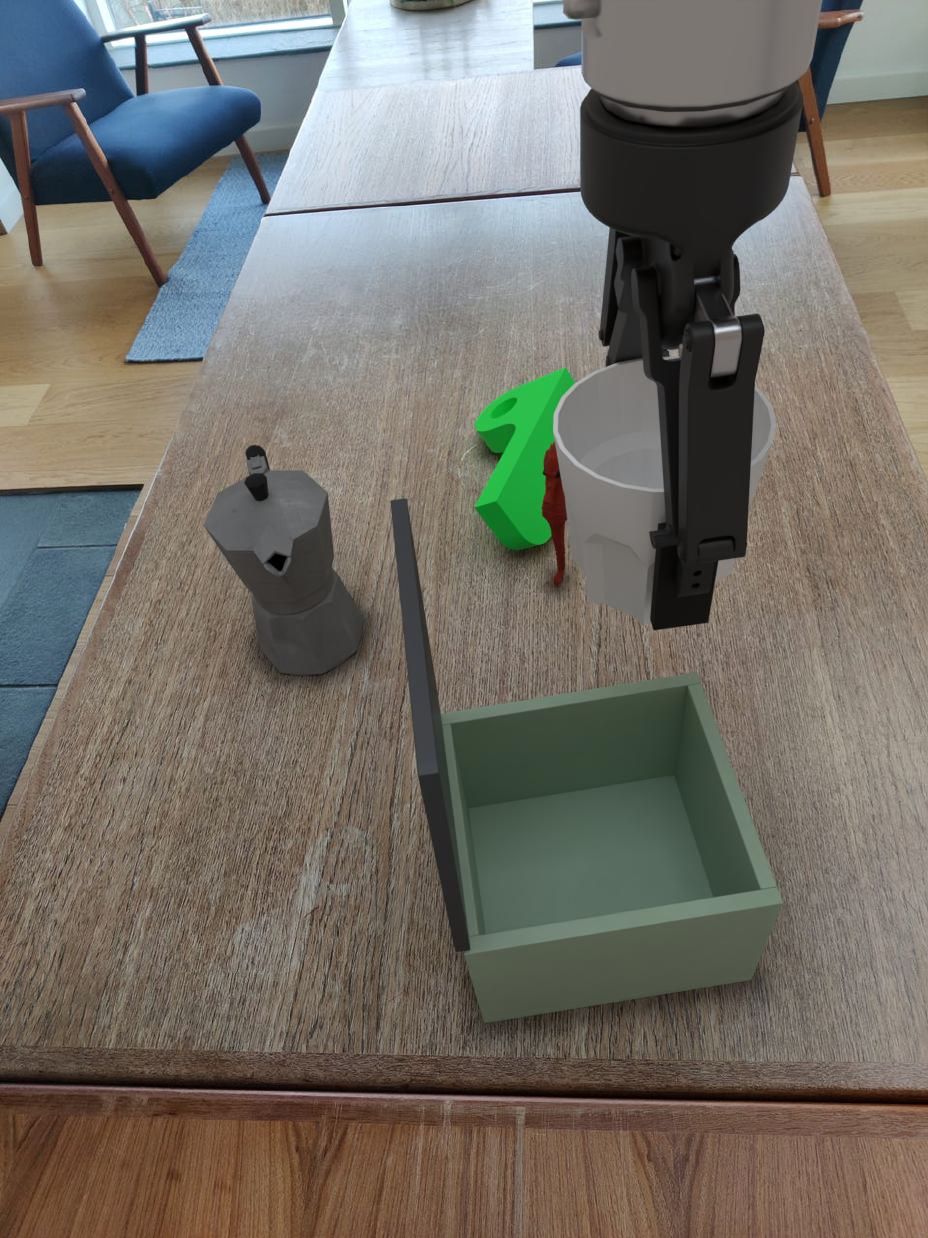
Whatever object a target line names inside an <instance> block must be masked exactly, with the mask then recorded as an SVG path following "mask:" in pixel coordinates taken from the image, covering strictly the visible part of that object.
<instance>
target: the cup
mask: <svg viewBox="0 0 928 1238" xmlns="http://www.w3.org/2000/svg"><path fill="white" fill-rule="evenodd" d="M675 358H678V357H676V356H670V357H663V359H665V360H668V359H675ZM774 411H775V410H774V407H773V405H772V404H771V402H770V401H769V400H768V398H767V397H766V395H765V394H764V392H762V389H760V388H758V387H757V386H756V385H755V392H754V411H753V431H752V451H751V470H750V490H749V509H748V516H749V514H750V510H751V507H752V504H753V502H754V499H755V496H756V493H757V490H758V487H759V484H760V481H761V478H762V475H763V472H764V469H765V466H766V463H767V461H768V458H769V455H770V452H771V448H772V447H773V443H774V438H775V433H776V430H777V421H776V416H775V412H774ZM553 434H554V439H555V445H556V451H557V457H558V463H559V469H560V475H561V481H562V487H563V491H564V495H565V503H566V512H567V520H566V522H567V528H568V537H569V546H570V555H571V561H572V562H573V563H574V564H575V565H576V566H577V567H579V568H580V569H581V570H582V572H583V575H584V578H585V586H586V587H585V589H586V599H587V600H586V601H587V604H589V605H591V604H593V605H604V606H608V607H609V608H612V609H614V610H617V611H620V612H621V613H625V614H627V615H629V616H631V617H633V618H634V619H635V620H636V622H638V623H639V624H640V625H641V627H643V628H644V627H645V626H647V625H649V624H650V623H651V621H650V613H651V601H652V589H653V577H654V565H655V553H656V549H654V548H653V547H652V544H651V540H650V534H649V531H656V530H658V523H665V522H666V514H665V499H664V484H663V469H662V454H661V438H660V423H659V408H658V393H657V385H656V383H655V382H654V381H652V380H650V379H648V378H647V377H646V375H645V373H644V369H643V358H640V359H634V360H629V361H624V362H618V363H615V364H612V365H610V366H607V367H606V366H605V367H602V368H599V369H596V370H594V371H593V372H591V373H589V374H587V375H585V376H584V377H583V378H581V379H579V380H578V381H575V384H574V385H573V386H572V387H571V388H570V389H569V390H568V391H567V392H566V393H565V394H564V395H563V396H562V397H561V399H560V402H559V404H558V406H557V408H556V410H555V412H554V421H553ZM736 559H737V558H734V559H727V560H720V561H718V567H717V573H716V579H715V585H714V588H715V587H716V586H717V584H718V583H719V582H720V581H721V580H723V579H725V578H726V577H729V576H731V575H732V573H733V570H734V566H735V562H736Z"/></svg>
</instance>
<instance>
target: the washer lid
mask: <svg viewBox="0 0 928 1238" xmlns="http://www.w3.org/2000/svg"><path fill="white" fill-rule="evenodd" d="M389 503H390V513H391V521H392V522H391V523H392V532H393V533H392V534H393V543H394V551H395V561H396V572H397V583H398V592H399V600H400V601H399V602H400V611H401V620H402V621H401V622H402V631H403V642H404V652H405V661H406V672H407V683H408V692H409V701H410V702H409V703H410V713H411V722H412V731H413V732H412V733H413V742H414V750H415V751H414V753H415V763H416V770H417V771H416V773H417V779H418V783H419V788H420V793H421V798H422V802H423V807H424V811H425V817H426V820H427V825H428V829H429V835H430V841H431V845H432V849H433V854H434V859H435V863H436V867H437V872H438V877H439V882H440V887H441V891H442V896H443V900H444V905H445V910H446V914H447V919H448V924H449V929H450V933H451V938H452V942H453V943H452V944H453V948H454V952H455V953H460V952H464V951H468V950H470V949H471V948H470V941H469V933H468V925H467V917H466V909H465V901H464V893H463V885H462V877H461V870H460V862H459V854H458V846H457V838H456V830H455V822H454V814H453V806H452V799H451V791H450V783H449V775H448V767H447V759H446V751H445V743H444V735H443V727H442V720H441V706H440V699H439V693H438V687H437V686H438V685H437V680H436V673H435V668H434V661H433V656H432V655H433V654H432V649H431V642H430V636H429V630H428V622H427V616H426V611H425V605H424V598H423V592H422V585H421V579H420V573H419V566H418V560H417V554H416V548H415V547H416V546H415V542H414V535H413V529H412V523H411V517H410V511H409V504H408V503H409V502H408V498H405V497H403V498H398V499H397V498H396V499H391V500H390V502H389Z"/></svg>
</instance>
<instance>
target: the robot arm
mask: <svg viewBox="0 0 928 1238" xmlns="http://www.w3.org/2000/svg"><path fill="white" fill-rule="evenodd" d="M562 2H563V6H562V8H563V9H562V13H563V14H564V16H565V17H566V19H569V20H574V21H578V20H579V21H580V20H581V21H580V22H581V27H580V28H581V38H580V39H581V40H580V41H581V47H580V49H581V55H580V56H581V57H580V58H581V59H580V60H581V61H580V62H581V63H580V64H581V65H580V66H581V67H580V68H581V71H580V72H581V76H582V78H583V81H584V83H585V84H586V85H588V87H589V88H590V89H589V91H588V92H587V94H586V95H585V97H584V98H583V100H582V101H581V103H580V107H579V115H580V116H579V125H580V126H579V140H580V141H579V155H580V156H579V157H580V158H579V173H580V175H579V179H580V180H579V188H580V189H579V190H580V196H581V200H582V202H583V204H584V206H585V209H587V211H588V213H589V214H591V216H592V217H593V218H594V219H596V220H597V221H598V222H599V223H601V224H603V225H604V226H606V227H608V228H609V230H608V239H607V251H606V261H605V269H604V270H605V271H604V283H603V290H602V291H603V293H602V303H601V312H600V313H601V314H600V322H599V323H600V325H599V330H598V339H599V341H600V342H601V346H602V347H608V350H607V354H606V356H605V361H604V362H605V367H607V366H610V365H612V364H615V363H618V362H624V361H629V360H634V359H640V358H643V369H644V373H645V375H646V377H647V378H648V379H650V380H652V381H654V382H655V383H656V385H657V393H658V408H659V423H660V438H661V454H662V469H663V484H664V499H665V514H666V522H665V523H658V530H656V531H649V534H650V540H651V544H652V547H653V548H654V549H656V553H655V565H654V577H653V589H652V601H651V613H650V621H651V622H650V623H651V627H652V630H653V631H662V630H667V629H674V628H683V627H690V626H695V625H696V626H697V625H702V624H703V625H704V624H709V622H710V616H711V610H712V603H713V597H714V591H715V587H714V585H715V579H716V573H717V567H718V561H720V560H727V559H734V558H736V559H740V558H741V559H742V558H745V557H746V554H747V548H748V527H749V515H748V509H749V490H750V470H751V451H752V431H753V411H754V392H755V386H756V378H757V374H758V368H759V363H760V359H761V354H762V348H763V344H764V337H765V333H766V330H765V325H764V323H763V319H762V317H761V316H762V315H760V314H759V313H750V314H744V315H737V316H736V308H735V306H736V303H737V301H738V299H739V298H740V295H741V270H740V269H741V268H740V261H739V257H738V256H737V254H736V253H734V252H735V251H734V249H733V246H734V244H735V242H736V241H737V240H738V239H739V238H740V236H742V235H743V234H744V233H745V232H747V230H748V229H750V228H751V227H753V226H754V225H756V224H757V223H759V222H760V221H763V220H765V218H767V217H768V216H769V215H771V214H772V213H774V212H775V210H776V209H777V208H778V207H779V206H780V204H782V202H783V201H784V199H785V197H786V195H787V192H788V189H789V186H790V181H791V176H792V169H793V163H794V157H795V152H796V146H797V140H798V134H799V129H800V123H801V117H802V111H803V105H804V95H803V92H802V90H801V88H800V87H799V86H798V84H797V82H796V81H798V80H799V79H800V78H801V77H803V76H804V75H805V74H806V73H807V71H808V69H809V67H810V65H811V62H812V61H813V58H814V52H815V46H816V39H817V33H818V30H819V29H818V28H819V21H820V16H821V12H822V4H823V0H562ZM674 350H675V351H676V350H677V351H678V357H677V358H675V359H668V360H665V359H663V357H671V354H670V351H674ZM715 586H716V585H715Z"/></svg>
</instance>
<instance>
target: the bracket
mask: <svg viewBox="0 0 928 1238" xmlns="http://www.w3.org/2000/svg"><path fill="white" fill-rule="evenodd" d="M575 383H576V381H575V379H574V378H573V376H572V375H571V373H570V372H569V369H568V368H567V367H566V366H565V367H563V368H560V369H558V370H555V371H552V372H550V373H548V374H546V375H543V376H541V377H538V378H536V379H533V380H531V381H528V382H526V383H523V384H520V385H518V386H515V387H514V388H511V389H509V390H508V391H505V392H504V393H502V394H501V395H499V396H498V397H497V398H495V399H494V400H493V401H491V403H489V404H487V406H486V407H485V408H484V409H483V410H482V412H481V413H480V414H479V416H478V417H477V419H476V420H475V423H474V429H475V430H476V432H477V433H478V435H479V436H480V438H481V439H482V440H483V441H484V443H485V445H486V446H487V447H488V449H489V450H490V451H491V452H492V453H494V454H502V455H501V457H500V459H499V461H498V462H497V464H496V466H495V468H494V469H493V472H492V473H491V476H490V477H489V479H488V481H487V483H486V484H485V487H484V488H483V491H482V492H481V494H480V496H479V498H478V500H477V502H476V503H475V505H474V510H475V511H476V512H477V513H478V515H479V517H481V519H482V520H483V522H484V523H485V524H486V526H487V527H488V528H489V530H490V531H491V532H492V533H493V535H494V536H495V537H496V538H497V540H498V541H499V542H500V543H501V544H502V545H503V546H504V547H505V548H507V549H509V550H512V551H521V550H525V549H529V548H532V547H535V546H540V545H543V544H545V543H547V542H548V541H549V540H550V539H551V538H552V535H551V529H550V526H549V524H548V522H547V520H546V519H545V518H544V517H543V516H542V509H541V508H542V503H543V502H542V501H543V499H544V495H545V489H546V487H545V479H546V478H545V475H543V470H544V457H545V453H546V451H547V450H549V449H550V445H551V444H553V442H554V441H555V439H554V434H553V421H554V412H555V410H556V408H557V406H558V404H559V402H560V399H561V397H562V396H563V395H564V394H565V393H566V392H567V391H568V390H569V389H570V388H571V387H572V386H573V385H574V384H575Z"/></svg>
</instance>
